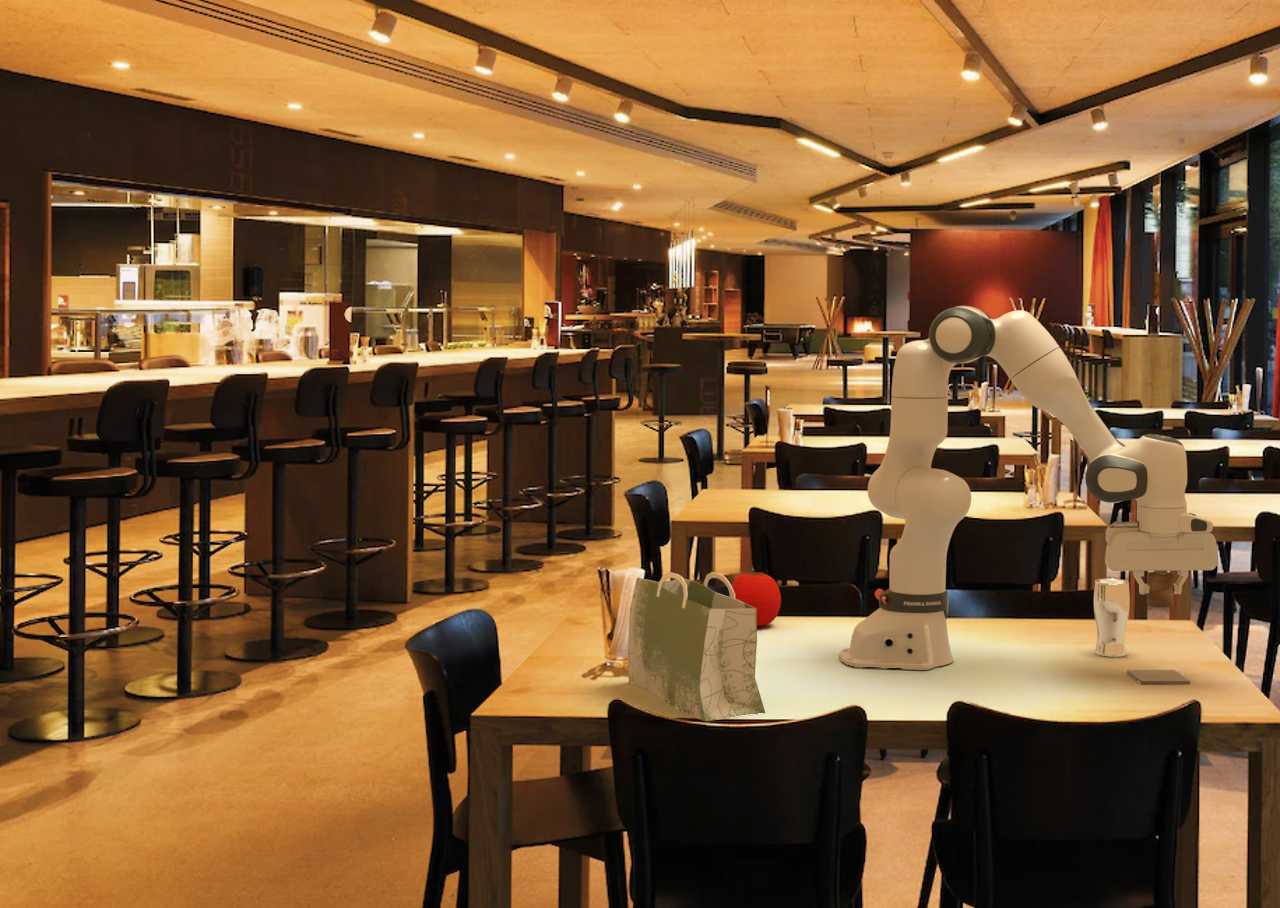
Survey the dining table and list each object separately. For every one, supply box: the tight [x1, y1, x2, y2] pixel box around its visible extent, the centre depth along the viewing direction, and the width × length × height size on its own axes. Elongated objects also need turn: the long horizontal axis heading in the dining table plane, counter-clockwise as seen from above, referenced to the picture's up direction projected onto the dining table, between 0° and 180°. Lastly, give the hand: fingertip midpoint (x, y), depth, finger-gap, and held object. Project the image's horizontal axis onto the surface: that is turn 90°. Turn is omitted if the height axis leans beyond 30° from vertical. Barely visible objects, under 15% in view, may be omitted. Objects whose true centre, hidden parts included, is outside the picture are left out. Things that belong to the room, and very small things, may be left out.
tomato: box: [728, 569, 782, 627], centre depth 337 cm, size 12×12×13 cm
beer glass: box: [1093, 578, 1131, 658], centre depth 306 cm, size 7×7×15 cm
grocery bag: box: [627, 571, 766, 722], centre depth 274 cm, size 32×14×23 cm, turn 25°
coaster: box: [1126, 669, 1191, 685], centre depth 286 cm, size 9×9×1 cm
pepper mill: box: [1146, 571, 1174, 608], centre depth 285 cm, size 5×5×7 cm
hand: (1160, 593), depth 285 cm, fingers closed on pepper mill, 5 cm apart
